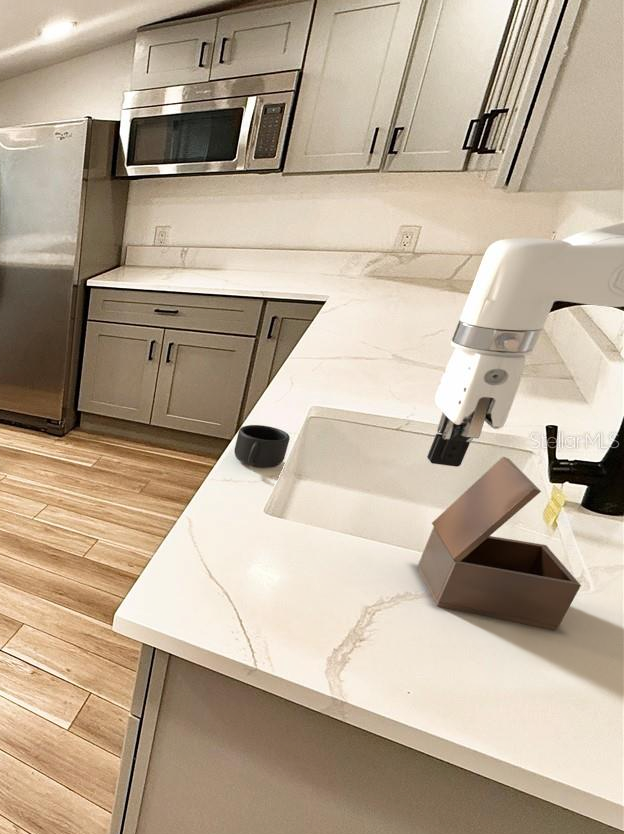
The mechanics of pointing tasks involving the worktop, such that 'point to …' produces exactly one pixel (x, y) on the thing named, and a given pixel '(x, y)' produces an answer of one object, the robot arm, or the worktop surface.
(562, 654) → the worktop surface
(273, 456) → the mug
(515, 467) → the lid
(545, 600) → the box
